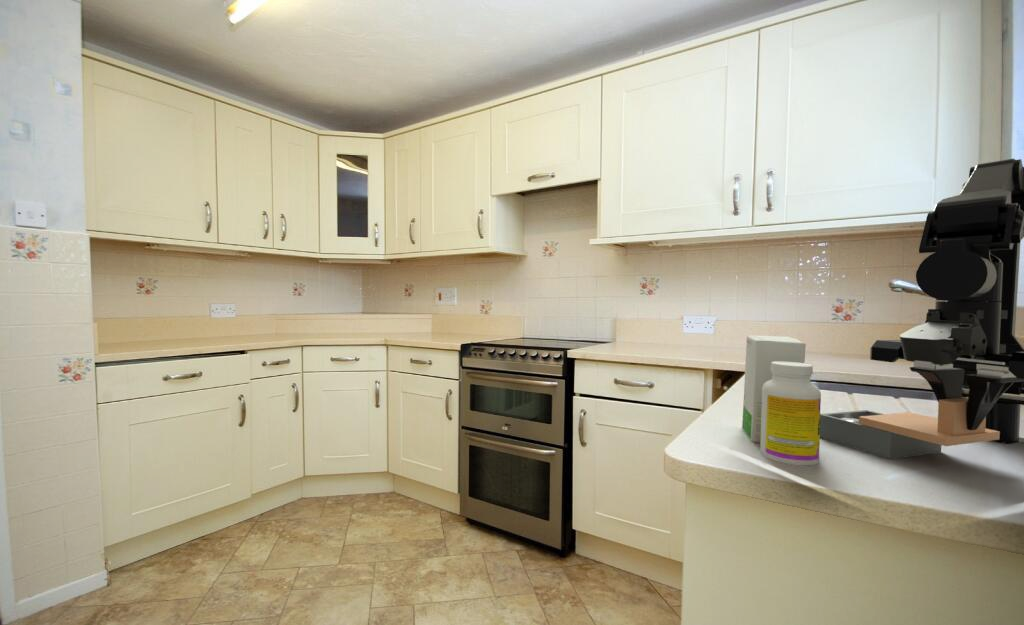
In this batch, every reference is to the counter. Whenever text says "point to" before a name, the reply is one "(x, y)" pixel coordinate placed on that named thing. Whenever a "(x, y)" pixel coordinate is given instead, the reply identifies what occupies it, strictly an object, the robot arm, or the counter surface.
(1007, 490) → the counter surface
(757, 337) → the skincare box
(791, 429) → the supplement bottle
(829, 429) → the tub
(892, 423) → the lid
